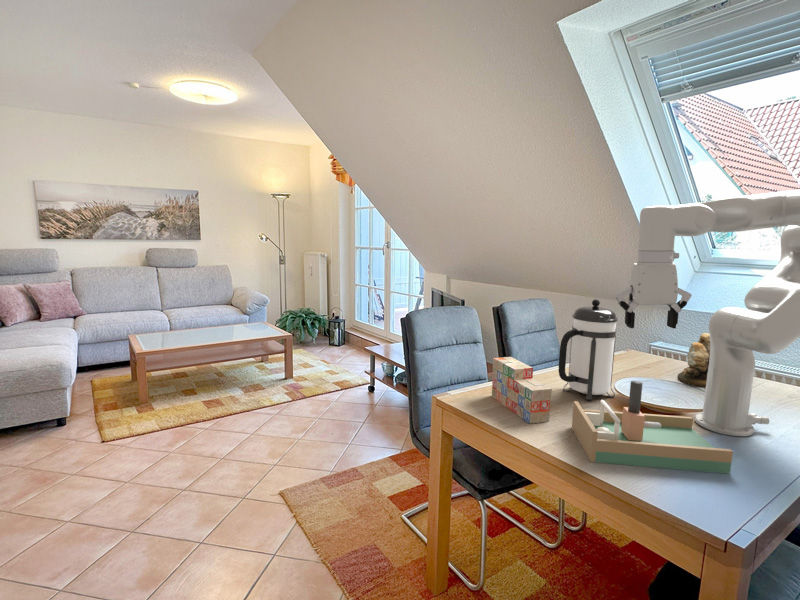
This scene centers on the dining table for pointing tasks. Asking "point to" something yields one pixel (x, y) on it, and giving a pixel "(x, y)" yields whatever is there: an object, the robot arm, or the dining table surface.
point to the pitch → (647, 442)
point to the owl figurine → (697, 363)
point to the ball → (603, 429)
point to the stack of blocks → (520, 390)
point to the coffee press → (590, 350)
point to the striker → (635, 415)
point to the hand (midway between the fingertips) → (650, 327)
